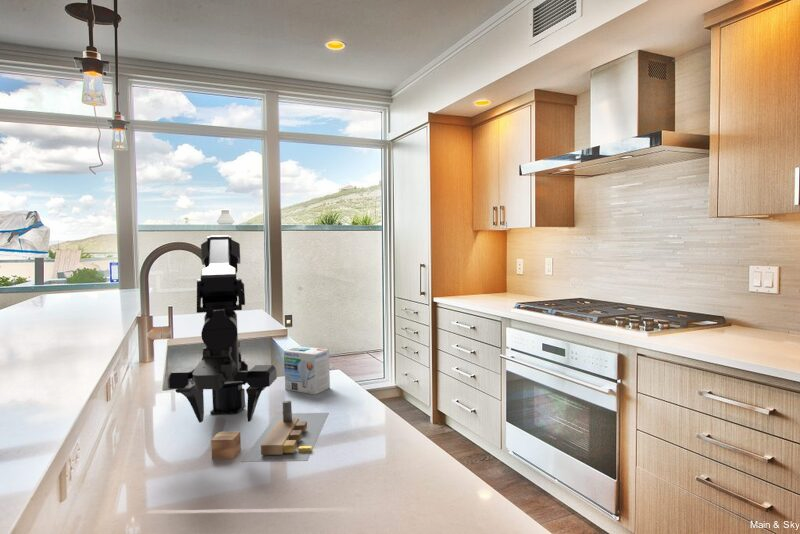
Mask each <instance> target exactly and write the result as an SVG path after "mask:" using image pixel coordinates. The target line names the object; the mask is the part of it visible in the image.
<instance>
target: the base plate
mask: <svg viewBox="0 0 800 534" xmlns="http://www.w3.org/2000/svg"><path fill="white" fill-rule="evenodd" d="M329 415H330V412H298V413H297V412H292V418H299V421H307V429H306V430H305V432H302V438H301V440H300V442H296V445H297V447H296V449H295V451H294V453H283V455H261V444H262V443H263V442H264V440H265V439H266V437H267V436H268V435H269V433H270V432H271V430H272V429H273V428H274V426H275V425H276V423H277V422H278V420H279V419H280V418H283V413H276V415H275V416H274V417H273V419H272V420H271V421H270V423H269V424H268V426H267V427H266V428H265V430H263V432H262V433H261V435H260V436H259V438H258V439H257V440H256V441H255V443H254V444H253V446H252V447H251V448H250V449H249V451H248V452H247V454H246V455H245V456H244V458H243V459H242V460H241V462H242V463H243V462H244V463H247V462H248V463H249V462H250V463H252V462H307V461H308V460H309V459H310V456H311V454H312V452H313V449H314V447H315V445H316V443H317V441H318V438H319V435H320V434H321V431H322V429H323V428H324V424H325V422H326V420H327V418H328V417H329ZM299 446H312V451H311V452H298V448H299Z"/></svg>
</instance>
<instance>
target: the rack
mask: <svg viewBox="0 0 800 534" xmlns="http://www.w3.org/2000/svg"><path fill="white" fill-rule="evenodd" d="M292 407H293V406H292V400H284V401H282V414H283V418H280V419H279V420H278V422H277V423H276V425H275V426H274V428H273V429H272V430H271V432H270V433H269V435H268V436H267V437H266V439H265V440H264V442H263V443H262V444H261V455H283V453H294V451H295V449H296V447H297V445H296V442H300V440H301V438H302V432H305V430H306V429H307V421H299V418H292V413H293V412H292V411H293V410H292V409H293V408H292Z"/></svg>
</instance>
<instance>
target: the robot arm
mask: <svg viewBox="0 0 800 534" xmlns="http://www.w3.org/2000/svg"><path fill="white" fill-rule="evenodd" d="M206 237H207V238H206V239H207V240H206V241H204V242H202V243H201V244H200V261H201V264H202V266H204V268H202V270H201V272H200V279H197V280H196V313H197V314H198V313H205V315H204V317H203V318H204V319H203V320H204V323H203V326H202V330H201V341H202V342H203V344H204V346H205V347H203V348H202V357H201V360H200V361H199V362H198V364H197V365H196V366H192V365H191V366H189V365H188V366H180V367H178V368H177V369H175V370H173V371H171V372H170V373H169V375H168V378H167V388H168V389H169V390H174V389H175V390H174V391H175V393H177V394H181V395H183V396H184V397H185V398H186V399H187V401H188V402H189V404H190V406H191V409H192V410H193V412H194V414H195V417H196V419H197V421H198V423H199V424H200V423H203V422H204V417H205V416H204V415H205V407H204V406H205V403H204V401H205V400H204V390H212V391H211V393H212V395H211V396H212V409H211V410H210V412H209V413H210V414H211V415H216V414H217V415H218V414H219V415H221V414H238V413H239V412H240V411H241V410H242V409H243V408H244V407H245V406H246V405H247V409H246V417H247V422H248V423H249V422H251V421H252V420H253V418H254V417H253V416H254V413H255V410H256V407H257V404H258V400H259V398H260V396H261V393H262V391H264V390H265V389H266V388H268V387H270V386H271V385H272V384H273V383H274V382H275V381H276V380H277V378H278V377H277V368H276V367H275V366H274V364H255V365H254V366H253V367H251V368H249V366H248V364H247V363H246V361H245V359H243V358H242V351H241V349H240V347H241V341H239V336H238V313H236V311H242V310H243V306H245V305H246V296H245V283H244V282H243V280H242V278H241V277H237V273H238V264H241V244H240V243H239V242H237V241H235V240H234V239H232V236H231V235H225V234H224V235H223V234H221V235H220V234H219V235H210V236H206ZM237 302H238V304H237ZM246 384H247V385H248V387H247V388H246V389H245V388H243V385H244V386H246ZM245 392H246V393H245ZM245 394H247V403H246V395H245Z"/></svg>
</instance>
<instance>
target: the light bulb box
mask: <svg viewBox="0 0 800 534" xmlns="http://www.w3.org/2000/svg"><path fill="white" fill-rule="evenodd" d="M283 358H284V360H283V361H284V389H285V390H286V391H293V392H297V393H298V392H299V393H306V394H311V395H317V394H319V393H322V392H324V391H326V390H328V389H330V387H331V379H330V378H331V376H330V374H331V373H330V350H329V348H318V347H309V346H301V345H299V346H296V347H292V348H289V349H287V350H284V351H283Z"/></svg>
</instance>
